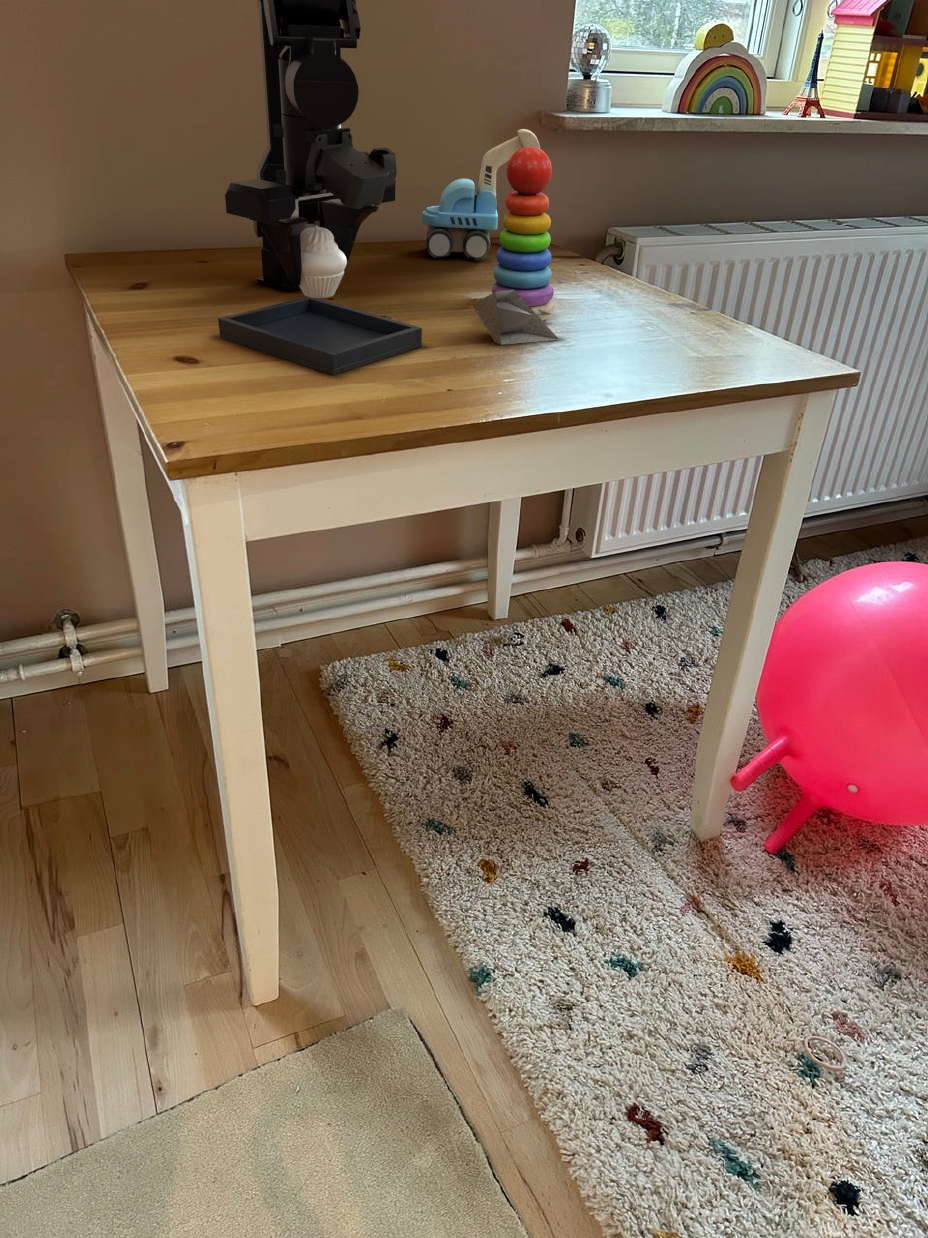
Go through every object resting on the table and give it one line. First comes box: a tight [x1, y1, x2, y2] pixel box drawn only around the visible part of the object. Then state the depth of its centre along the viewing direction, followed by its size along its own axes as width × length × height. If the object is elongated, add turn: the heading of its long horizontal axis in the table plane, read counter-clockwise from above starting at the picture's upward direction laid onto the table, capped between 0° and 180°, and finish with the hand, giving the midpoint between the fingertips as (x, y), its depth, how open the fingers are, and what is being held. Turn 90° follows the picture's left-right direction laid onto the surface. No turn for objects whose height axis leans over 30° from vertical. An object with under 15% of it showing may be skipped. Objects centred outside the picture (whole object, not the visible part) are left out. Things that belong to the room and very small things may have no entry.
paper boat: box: [471, 290, 560, 346], centre depth 106 cm, size 12×6×9 cm
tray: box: [217, 296, 423, 376], centre depth 104 cm, size 14×18×2 cm
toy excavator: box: [421, 128, 541, 262], centre depth 139 cm, size 9×17×17 cm, turn 89°
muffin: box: [299, 225, 348, 299], centre depth 100 cm, size 6×6×7 cm
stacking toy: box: [491, 147, 555, 322], centre depth 112 cm, size 8×8×19 cm
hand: (318, 280), depth 101 cm, fingers closed on muffin, 6 cm apart
